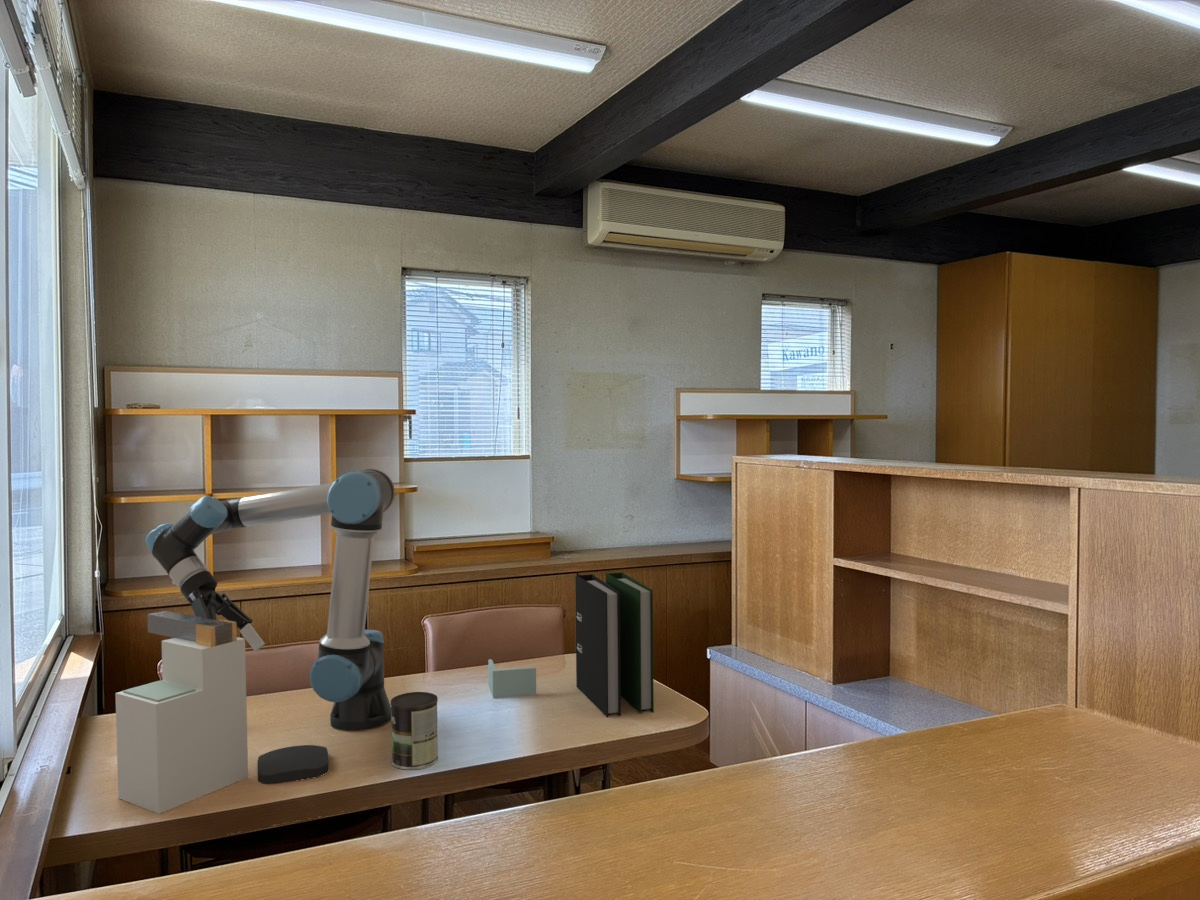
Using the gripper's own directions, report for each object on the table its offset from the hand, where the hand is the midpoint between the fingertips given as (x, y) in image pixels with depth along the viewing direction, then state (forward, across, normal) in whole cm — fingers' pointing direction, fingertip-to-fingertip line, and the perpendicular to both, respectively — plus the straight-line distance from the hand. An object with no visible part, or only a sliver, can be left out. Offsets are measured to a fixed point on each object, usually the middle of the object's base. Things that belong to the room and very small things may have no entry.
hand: (246, 648), depth 198 cm
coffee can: (+46, -3, +13) cm, 47 cm away
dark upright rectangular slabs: (+65, -47, +51) cm, 95 cm away
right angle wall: (+44, -53, +30) cm, 75 cm away
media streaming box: (+29, +3, -7) cm, 30 cm away
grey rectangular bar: (-6, +15, -2) cm, 16 cm away
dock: (+18, +14, -22) cm, 32 cm away
